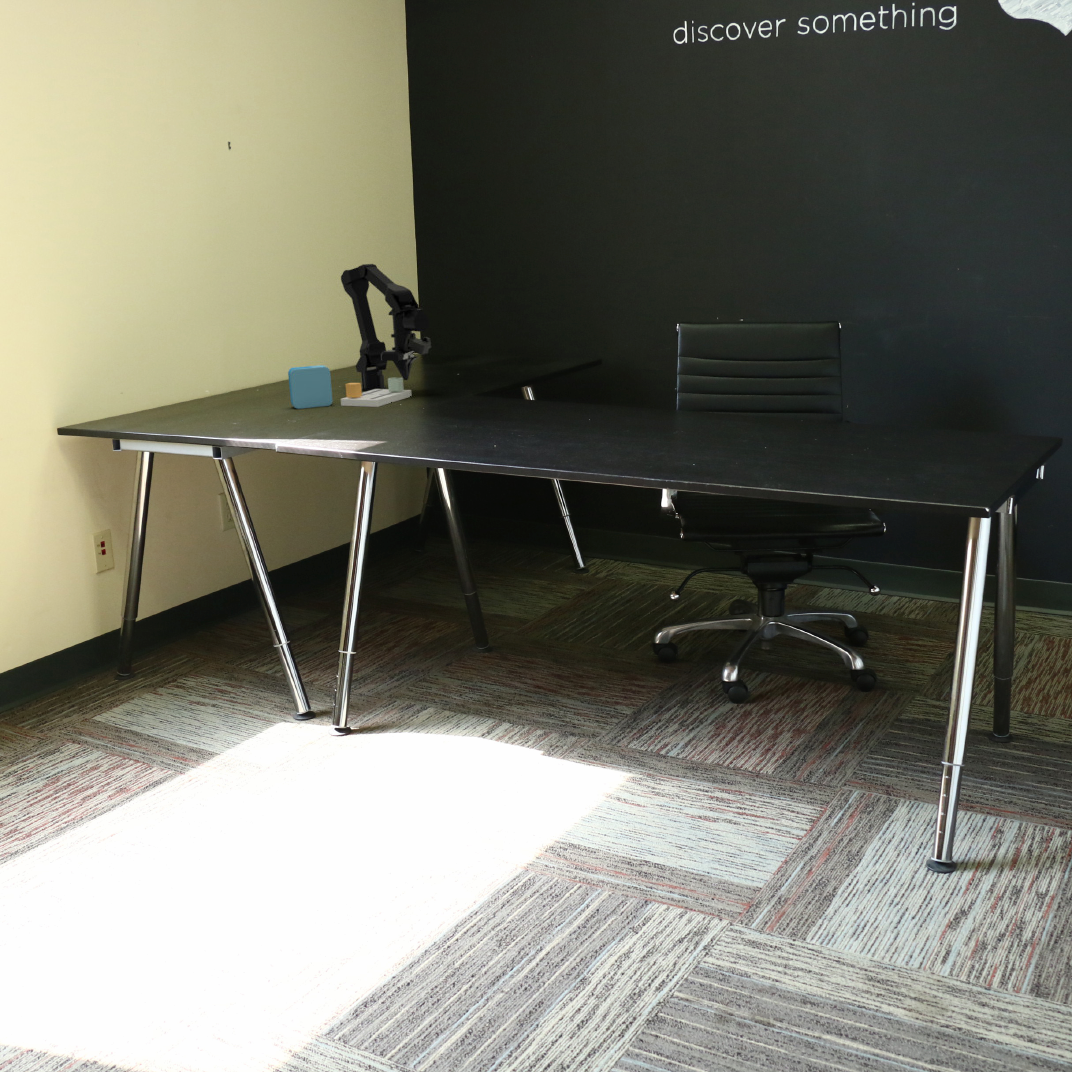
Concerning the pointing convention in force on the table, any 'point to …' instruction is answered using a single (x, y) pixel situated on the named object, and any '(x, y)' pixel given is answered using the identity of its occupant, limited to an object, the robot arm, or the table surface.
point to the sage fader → (395, 384)
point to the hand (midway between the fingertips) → (406, 380)
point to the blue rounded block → (310, 386)
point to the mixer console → (376, 398)
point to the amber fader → (353, 390)
